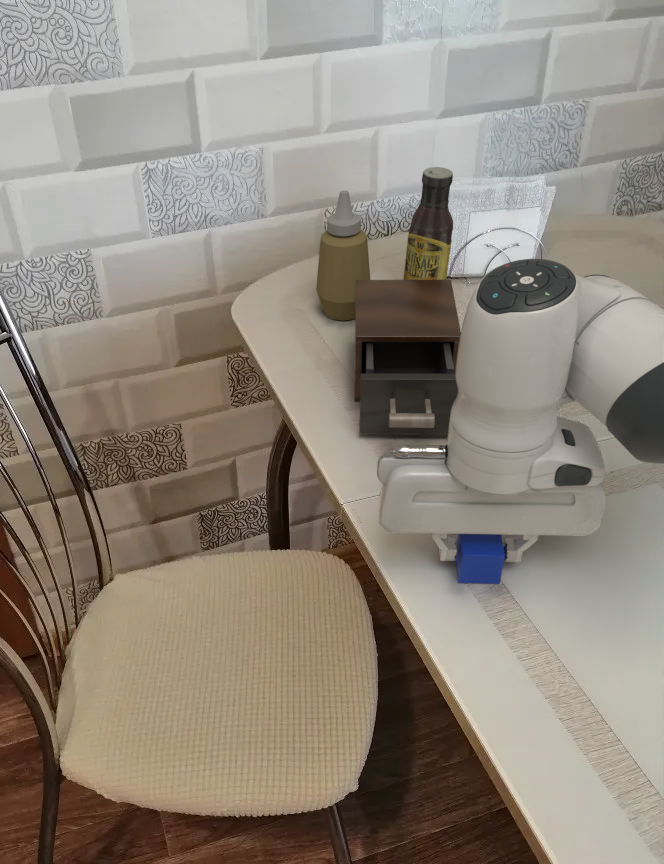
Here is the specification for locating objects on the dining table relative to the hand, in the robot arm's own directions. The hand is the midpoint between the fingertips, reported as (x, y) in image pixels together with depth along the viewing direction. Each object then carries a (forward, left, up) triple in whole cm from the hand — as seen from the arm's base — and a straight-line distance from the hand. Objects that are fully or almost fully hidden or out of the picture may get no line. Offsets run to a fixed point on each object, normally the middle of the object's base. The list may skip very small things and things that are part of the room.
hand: (478, 556), depth 79 cm
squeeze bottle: (+14, -52, -2) cm, 54 cm away
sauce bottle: (+2, -54, -2) cm, 54 cm away
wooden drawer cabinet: (+6, -36, -2) cm, 37 cm away
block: (0, 0, -2) cm, 2 cm away
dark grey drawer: (+6, -25, -1) cm, 26 cm away
